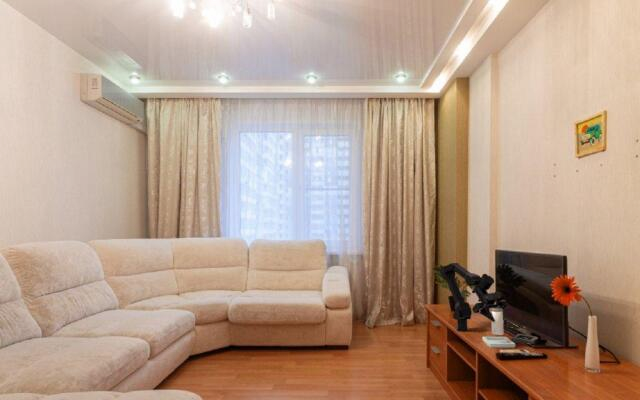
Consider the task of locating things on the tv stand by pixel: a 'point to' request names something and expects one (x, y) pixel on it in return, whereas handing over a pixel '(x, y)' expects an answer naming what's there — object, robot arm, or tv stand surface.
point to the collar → (523, 341)
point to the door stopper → (509, 324)
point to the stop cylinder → (497, 321)
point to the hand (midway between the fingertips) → (498, 320)
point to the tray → (498, 342)
